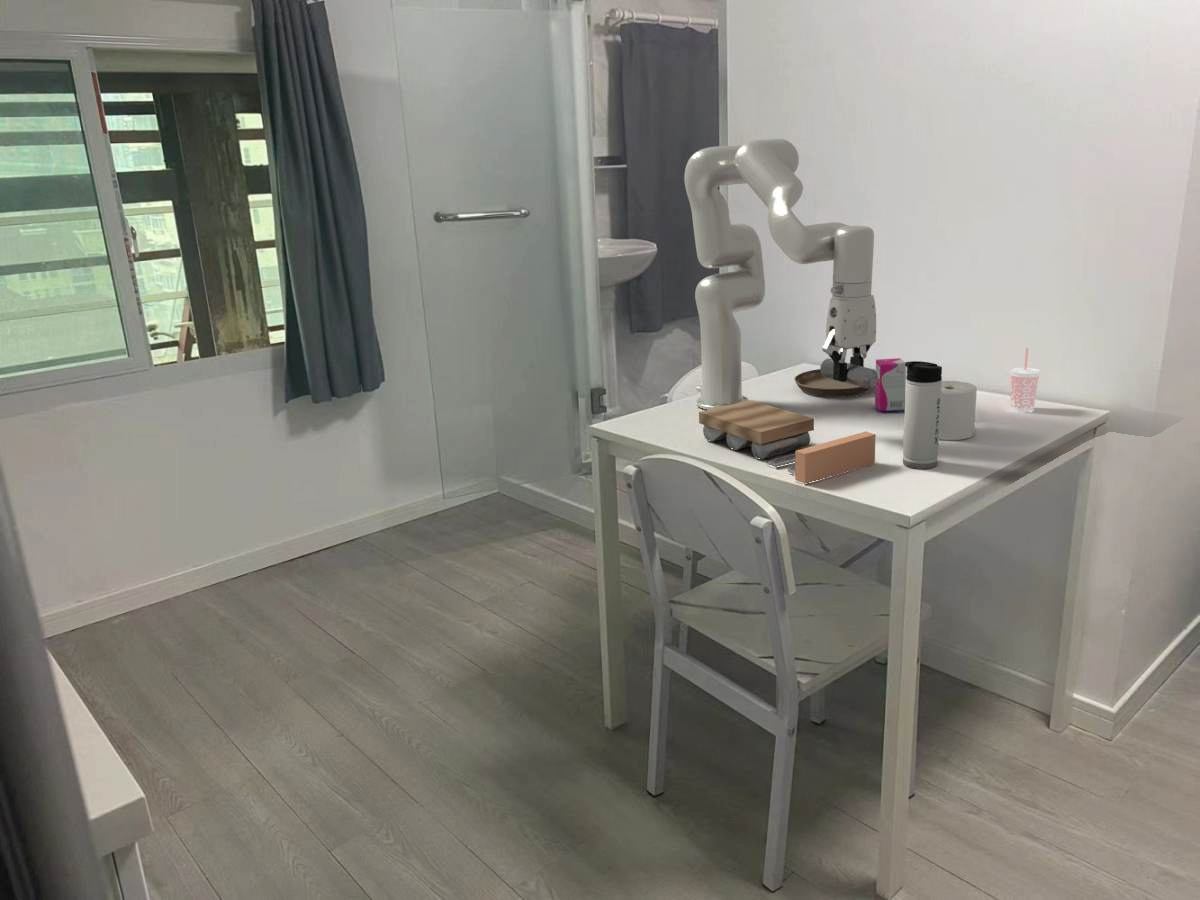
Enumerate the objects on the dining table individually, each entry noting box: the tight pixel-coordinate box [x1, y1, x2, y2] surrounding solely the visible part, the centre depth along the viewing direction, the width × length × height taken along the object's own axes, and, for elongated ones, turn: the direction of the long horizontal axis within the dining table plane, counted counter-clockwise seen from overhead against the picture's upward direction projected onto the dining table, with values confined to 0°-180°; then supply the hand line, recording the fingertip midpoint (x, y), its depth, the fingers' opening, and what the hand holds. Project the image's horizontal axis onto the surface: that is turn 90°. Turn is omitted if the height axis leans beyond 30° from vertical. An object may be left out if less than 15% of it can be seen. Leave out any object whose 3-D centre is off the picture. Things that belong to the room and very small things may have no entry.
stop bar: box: [794, 431, 877, 484], centre depth 173 cm, size 2×18×6 cm, turn 121°
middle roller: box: [726, 433, 753, 451], centre depth 193 cm, size 4×12×4 cm, turn 121°
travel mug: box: [902, 360, 943, 470], centre depth 173 cm, size 6×7×20 cm
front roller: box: [751, 432, 811, 460], centre depth 186 cm, size 4×12×4 cm, turn 121°
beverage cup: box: [1009, 347, 1042, 413], centre depth 203 cm, size 6×6×14 cm
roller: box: [819, 357, 877, 390], centre depth 189 cm, size 12×4×4 cm, turn 31°
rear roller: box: [702, 425, 728, 442], centre depth 199 cm, size 4×12×4 cm, turn 121°
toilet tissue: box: [939, 380, 978, 441], centre depth 191 cm, size 11×12×10 cm
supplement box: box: [874, 357, 907, 414], centre depth 211 cm, size 6×6×12 cm
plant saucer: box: [793, 368, 876, 398], centre depth 232 cm, size 21×21×3 cm
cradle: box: [767, 453, 795, 474], centre depth 180 cm, size 8×14×1 cm, turn 121°
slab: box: [698, 399, 815, 444], centre depth 192 cm, size 20×14×2 cm
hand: (847, 377), depth 190 cm, fingers closed on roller, 4 cm apart
